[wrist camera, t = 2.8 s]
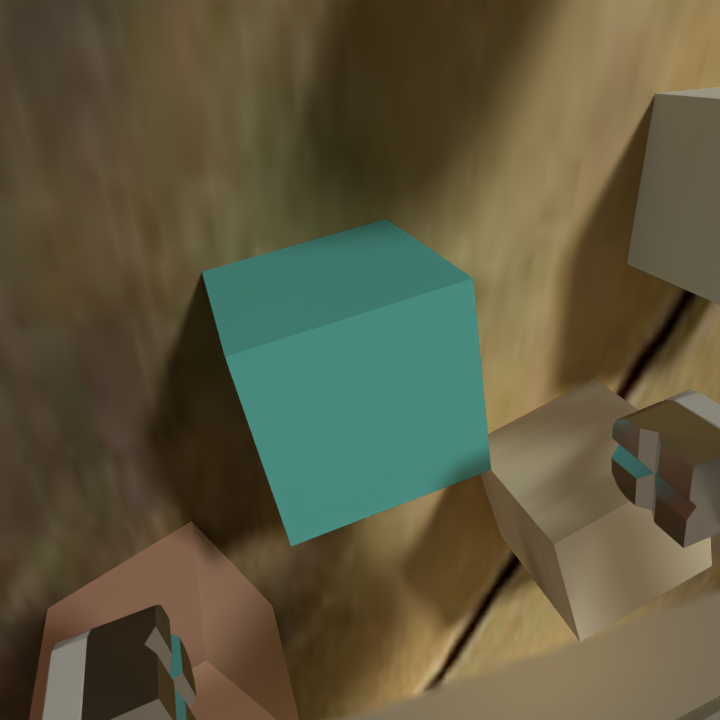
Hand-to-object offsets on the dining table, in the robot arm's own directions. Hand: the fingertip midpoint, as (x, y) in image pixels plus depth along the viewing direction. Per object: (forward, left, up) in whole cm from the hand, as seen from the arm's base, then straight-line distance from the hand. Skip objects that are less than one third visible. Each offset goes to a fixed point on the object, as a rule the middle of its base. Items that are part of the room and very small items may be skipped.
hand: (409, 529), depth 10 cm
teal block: (-1, 0, -8) cm, 8 cm away
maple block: (-8, +8, -8) cm, 13 cm away
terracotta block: (+6, +8, -8) cm, 13 cm away
